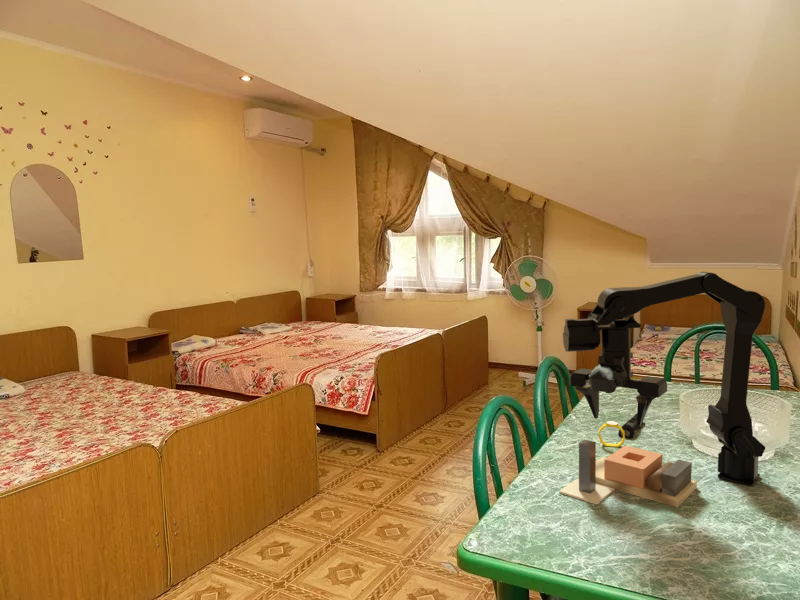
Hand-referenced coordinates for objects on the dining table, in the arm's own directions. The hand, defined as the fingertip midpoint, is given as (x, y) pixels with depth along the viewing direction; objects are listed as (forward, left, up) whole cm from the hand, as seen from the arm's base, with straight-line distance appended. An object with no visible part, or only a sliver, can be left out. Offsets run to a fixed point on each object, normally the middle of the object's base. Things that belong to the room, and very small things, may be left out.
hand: (617, 421), depth 123 cm
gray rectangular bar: (+2, +10, -12) cm, 16 cm away
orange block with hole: (-4, 0, -11) cm, 12 cm away
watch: (+9, -17, -13) cm, 23 cm away
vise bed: (-4, 0, -12) cm, 13 cm away
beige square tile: (+2, +10, -12) cm, 16 cm away
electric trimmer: (+10, -31, -13) cm, 35 cm away
